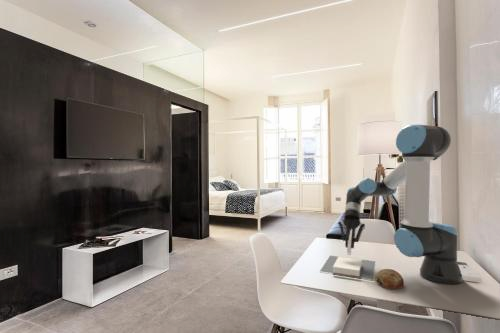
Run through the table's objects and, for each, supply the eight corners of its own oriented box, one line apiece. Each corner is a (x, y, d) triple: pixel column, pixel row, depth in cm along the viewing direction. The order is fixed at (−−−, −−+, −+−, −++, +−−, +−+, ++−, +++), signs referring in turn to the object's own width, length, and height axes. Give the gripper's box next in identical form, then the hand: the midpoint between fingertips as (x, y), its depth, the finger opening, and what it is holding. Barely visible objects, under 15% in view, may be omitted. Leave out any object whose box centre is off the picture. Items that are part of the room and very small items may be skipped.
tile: (338, 256, 140) (332, 266, 125) (362, 259, 135) (359, 270, 121) (338, 262, 140) (332, 273, 125) (362, 265, 135) (359, 277, 121)
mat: (330, 256, 151) (330, 255, 151) (375, 262, 142) (375, 261, 142) (319, 272, 128) (319, 271, 128) (373, 280, 118) (373, 279, 118)
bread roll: (374, 289, 118) (367, 273, 117) (391, 276, 121) (385, 260, 120) (394, 300, 109) (387, 282, 108) (411, 285, 112) (405, 267, 111)
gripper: (366, 218, 148) (364, 259, 132) (340, 216, 153) (335, 255, 138) (365, 209, 143) (363, 250, 128) (338, 207, 149) (333, 247, 133)
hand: (348, 253), depth 133 cm, fingers closed
